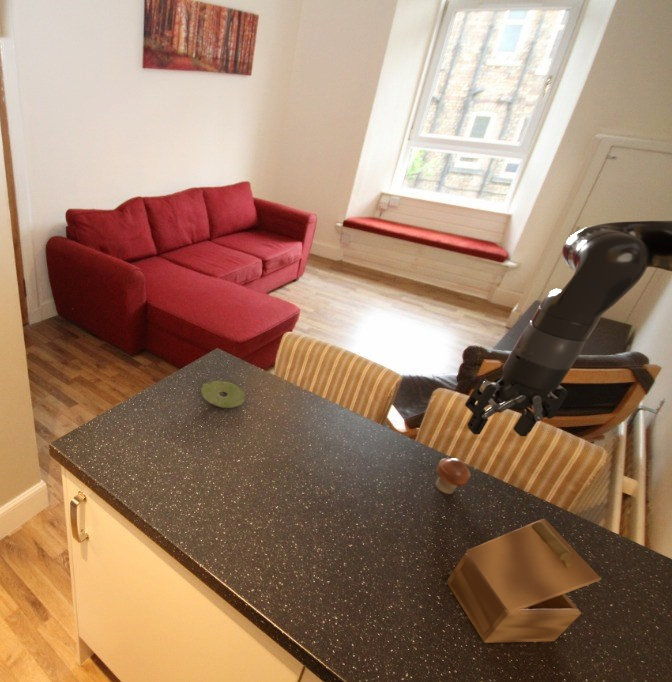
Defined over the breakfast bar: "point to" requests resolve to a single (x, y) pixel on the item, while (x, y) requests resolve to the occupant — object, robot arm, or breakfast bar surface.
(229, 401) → the green disc with hole
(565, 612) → the breadbox
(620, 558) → the breakfast bar surface
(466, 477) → the mushroom
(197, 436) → the breakfast bar surface
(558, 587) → the lid
